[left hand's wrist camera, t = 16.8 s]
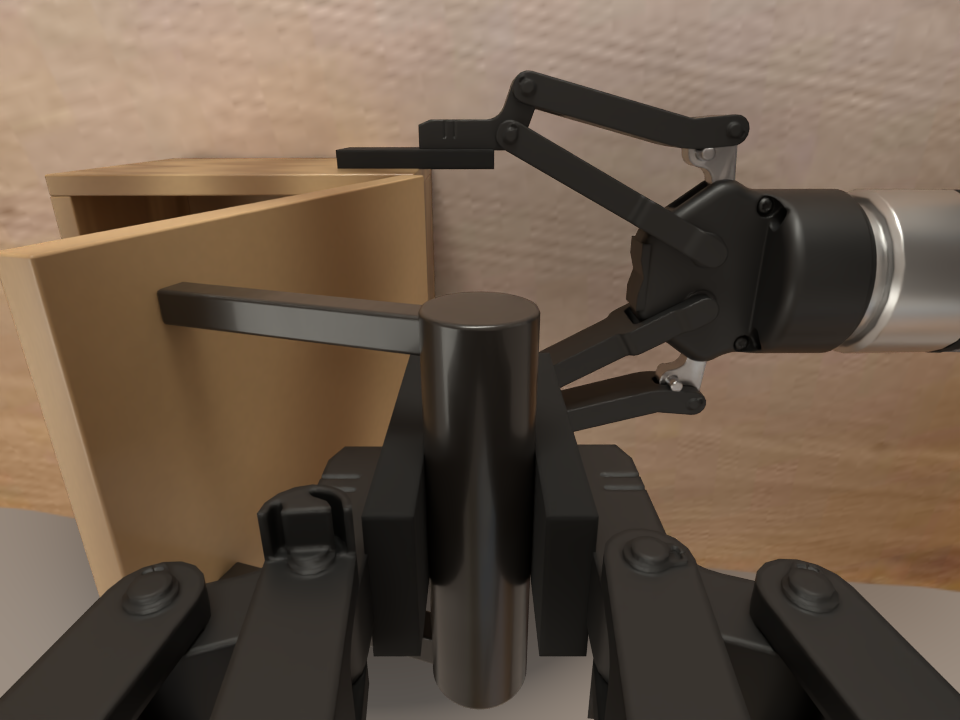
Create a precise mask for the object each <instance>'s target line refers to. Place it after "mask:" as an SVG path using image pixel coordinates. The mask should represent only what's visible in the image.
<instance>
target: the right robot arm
mask: <svg viewBox="0 0 960 720" xmlns="http://www.w3.org/2000/svg"><path fill="white" fill-rule="evenodd" d="M535 109H537V110H540V111H544V112H547V113H551V114H554V115H558V116H561V117H565V118H568V119H572V120H575V121H578V122H582V123H585V124H589V125H592V126H596V127H599V128H603V129H606V130H610V131H613V132H617V133H620V134H624V135H627V136H631V137H634V138H637V139H641V140H644V141H648V142H651V143H655V144H659V145H664V146H670V147H677V148H682V158H683V160H684V161H685V163H687V164H688V165H691V166H696V167H699V168H700V169H701V170H702V171H703V173H704V175H705V181H703V182H701V183H700V184H698V185H697V186H695V187H694V188H692V189H691V190H690V191H688V192H687V193H685V194H684V195H682V196H681V197H679V198H678V199H676V200H675V201H674V202H672V203H671V204H669V205H668V206H666V207H665V208H664V207H662V206H660V205H659V204H657V203H655V202H654V201H652V200H650V199H648V198H646V197H645V196H643V195H641V194H639V193H638V192H636V191H634V190H633V189H631V188H629V187H628V186H626V185H624V184H622V183H621V182H619V181H617V180H616V179H614V178H612V177H611V176H609V175H607V174H606V173H604V172H602V171H600V170H599V169H597V168H595V167H594V166H592V165H590V164H589V163H587V162H585V161H584V160H582V159H580V158H578V157H577V156H575V155H573V154H572V153H570V152H568V151H567V150H565V149H563V148H562V147H560V146H558V145H557V144H555V143H553V142H551V141H550V140H548V139H546V138H545V137H543V136H541V135H540V134H538V133H536V132H535V131H533V130H531V129H529V128H528V126H529V124H530V121H531V118H532V115H533V113H534V110H535ZM748 133H749V122H748V121H747V119H746V118H745V117H743V116H742V115H710V116H700V117H687V116H683V115H680V114H677V113H673V112H670V111H666V110H663V109H660V108H656V107H653V106H649V105H646V104H643V103H639V102H636V101H632V100H629V99H626V98H622V97H619V96H615V95H612V94H609V93H605V92H602V91H598V90H595V89H592V88H588V87H585V86H581V85H578V84H575V83H571V82H568V81H565V80H561V79H558V78H554V77H551V76H548V75H544V74H541V73H537V72H534V71H524V72H521V73H520V74H519V75H518V76H517V77H516V78H515V79H514V80H513V81H512V84H511V86H510V89H509V92H508V95H507V98H506V101H505V104H504V107H503V109H502V111H501V112H500V113H499V114H498V115H497V116H496V117H494V118H492V119H487V120H428V121H426V122H424V123H422V124H419V147H349V148H344V149H339V150H336V157H337V168H338V169H494V150H506V151H507V152H509V153H511V154H513V155H514V156H516V157H518V158H519V159H521V160H523V161H525V162H526V163H528V164H530V165H532V166H533V167H535V168H537V169H538V170H540V171H542V172H544V173H545V174H547V175H549V176H551V177H552V178H554V179H556V180H557V181H559V182H561V183H563V184H564V185H566V186H568V187H570V188H571V189H573V190H575V191H576V192H578V193H580V194H582V195H583V196H585V197H587V198H589V199H590V200H592V201H594V202H596V203H597V204H599V205H601V206H602V207H604V208H606V209H608V210H609V211H611V212H613V213H615V214H616V215H618V216H620V217H621V218H623V219H625V220H627V221H628V222H630V223H632V224H633V225H635V226H637V227H638V228H639V230H638V231H637V233H636V236H632V240H631V251H630V252H631V258H632V264H633V270H632V273H631V276H630V278H629V281H628V284H627V294H626V300H627V301H628V302H629V303H628V304H626V305H624V306H622V307H620V308H618V309H616V310H614V311H613V312H611V313H610V314H609V316H608V317H607V318H606V319H604V320H602V321H600V322H598V323H596V324H594V325H592V326H590V327H588V328H586V329H584V330H582V331H580V332H578V333H576V334H574V335H572V336H570V337H568V338H566V339H564V340H562V341H560V342H558V343H556V344H554V345H552V346H550V347H548V348H546V349H544V350H542V351H540V352H539V353H550V356H551V360H552V363H553V366H554V370H555V373H556V376H557V379H558V383H559V386H560V388H561V387H563V386H565V385H567V384H569V383H571V382H573V381H575V380H577V379H579V378H581V377H584V376H586V375H588V374H590V373H592V372H594V371H596V370H598V369H600V368H602V367H604V366H606V365H608V364H610V363H612V362H614V361H616V360H619V359H621V358H623V357H625V356H628V355H633V356H635V355H639V354H642V353H644V352H646V351H648V350H650V349H652V348H654V347H656V346H658V345H660V344H662V343H664V342H667V343H668V344H669V345H671V346H672V347H673V348H675V349H676V350H678V351H679V352H680V353H681V354H680V356H679V358H678V359H676V360H675V361H673V362H670V363H662V364H660V365H659V366H658V368H657V370H656V371H645V372H637V373H632V374H628V375H624V376H619V377H615V378H611V379H607V380H603V381H599V382H594V383H590V384H586V385H582V386H578V387H574V388H570V389H565V390H561V393H562V396H563V399H564V403H565V406H566V409H567V413H568V416H569V419H570V423H571V426H572V429H573V432H575V431H579V430H583V429H588V428H592V427H596V426H600V425H605V424H609V423H613V422H618V421H622V420H626V419H630V418H635V417H639V416H643V415H648V414H652V413H656V412H662V413H675V414H687V415H694V414H698V413H700V412H701V411H702V410H703V409H704V408H705V405H706V400H705V397H704V396H703V395H702V393H701V392H700V386H701V382H702V378H703V374H704V370H705V366H706V362H707V361H709V360H712V359H714V358H716V357H718V356H721V355H723V354H726V353H730V352H748V353H823V352H828V351H831V350H834V351H837V352H841V353H889V352H938V353H940V352H960V190H903V189H855V190H852V191H849V192H844V191H841V190H838V189H749V188H747V187H745V186H744V185H742V184H741V183H739V182H737V181H735V171H736V156H737V145H739V144H740V143H742V142H743V141H744V140H745V139H746V137H747V136H748Z"/></svg>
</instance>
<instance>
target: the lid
mask: <svg viewBox="0 0 960 720" xmlns="http://www.w3.org/2000/svg"><path fill="white" fill-rule="evenodd" d="M0 280H1V283H2V286H3V289H4V292H5V296H6V299H7V302H8V305H9V308H10V312H11V315H12V318H13V321H14V324H15V328H16V331H17V334H18V337H19V340H20V344H21V347H22V350H23V353H24V356H25V359H26V363H27V366H28V369H29V372H30V375H31V379H32V382H33V385H34V388H35V391H36V395H37V398H38V401H39V404H40V407H41V411H42V414H43V417H44V420H45V423H46V427H47V430H48V433H49V436H50V439H51V443H52V446H53V449H54V452H55V455H56V459H57V462H58V465H59V468H60V471H61V475H62V478H63V481H64V484H65V487H66V491H67V494H68V497H69V500H70V503H71V507H72V510H73V513H74V516H75V519H76V523H77V526H78V529H79V532H80V535H81V539H82V542H83V545H84V548H85V551H86V554H87V558H88V561H89V564H90V567H91V570H92V574H93V577H94V580H95V583H96V586H97V590H98V593H99V596H100V597H101V596H102V595H103V594H104V593H105V592H106V591H107V590H108V589H109V588H110V587H112V586H113V585H114V584H116V583H117V582H118V581H119V580H121V579H122V578H123V577H125V576H127V575H129V574H131V573H133V572H135V571H137V570H139V569H141V568H143V567H146V566H150V565H154V564H158V563H161V562H176V561H182V562H186V563H189V564H193V565H196V566H197V567H198V568H199V570H200V571H201V572H202V573H203V574H204V578H205V582H206V583H209V582H214V581H218V580H223V579H227V578H231V577H236V576H240V575H243V574H246V573H250V572H253V571H255V570H257V569H260V568H262V567H263V564H264V561H265V559H264V553H263V547H262V541H261V535H260V530H259V524H258V518H257V513H258V511H259V510H260V508H261V507H262V506H263V504H264V503H265V502H266V501H268V500H269V499H271V498H272V497H274V496H275V495H277V494H278V493H281V492H283V491H286V490H289V489H291V488H294V487H299V486H305V485H311V484H315V485H318V482H319V480H320V479H321V478H322V473H323V471H324V469H325V467H326V464H327V462H328V460H329V459H330V458H331V457H333V456H334V455H335V454H336V453H338V452H339V451H340V450H341V449H342V448H344V447H345V446H383V443H384V439H385V436H386V433H387V429H388V426H389V423H390V419H391V416H392V413H393V410H394V406H395V403H396V400H397V396H398V393H399V390H400V386H401V383H402V380H403V376H404V373H405V370H406V367H407V363H408V360H409V357H410V355H416V356H420V366H421V390H422V414H423V438H424V457H425V481H426V505H427V529H428V553H429V580H430V604H431V612H429V611H426V612H425V621H424V630H423V639H422V648H421V656H407V657H410V658H414V659H417V660H421V661H424V662H428V663H431V664H433V672H434V678H435V681H436V683H437V685H438V687H439V689H440V690H441V691H442V692H443V694H444V695H445V696H446V697H447V698H448V699H450V700H451V701H453V702H454V703H456V704H458V705H460V706H463V707H466V708H470V709H490V708H493V707H497V706H499V705H502V704H504V703H505V702H507V701H508V700H510V699H511V698H512V697H513V696H514V695H515V694H516V693H517V692H518V691H519V689H520V688H521V686H522V684H523V682H524V679H525V676H526V664H527V639H528V613H529V588H530V562H531V536H532V511H533V485H534V460H535V434H536V408H537V383H538V357H539V331H540V310H539V308H538V306H537V305H536V304H535V303H534V302H532V301H530V300H528V299H525V298H522V297H519V296H515V295H510V294H505V293H496V292H463V293H454V294H448V295H444V296H440V297H437V298H434V299H431V300H429V301H428V286H427V257H426V229H425V201H424V176H423V175H400V176H395V177H389V178H384V179H379V180H373V181H368V182H363V183H357V184H352V185H347V186H341V187H336V188H331V189H326V190H320V191H315V192H310V193H304V194H299V195H294V196H288V197H283V198H278V199H272V200H267V201H262V202H257V203H251V204H246V205H241V206H235V207H230V208H225V209H219V210H214V211H209V212H204V213H198V214H193V215H188V216H182V217H177V218H172V219H166V220H161V221H156V222H150V223H145V224H140V225H135V226H129V227H124V228H119V229H113V230H108V231H103V232H97V233H92V234H87V235H81V236H76V237H71V238H66V239H60V240H55V241H50V242H44V243H39V244H34V245H28V246H23V247H18V248H12V249H7V250H2V251H0ZM370 646H372V647H373V642H372V638H371V642H370Z"/></svg>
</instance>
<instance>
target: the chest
mask: <svg viewBox="0 0 960 720" xmlns="http://www.w3.org/2000/svg"><path fill="white" fill-rule="evenodd" d="M400 175H423V176H424V201H425V229H426V257H427V286H428V301H429V300H431V299H434V298H435V280H434V248H433V215H432V182H431V169H338V168H337V158H173V159H166V160H158V161H150V162H142V163H134V164H126V165H118V166H110V167H102V168H95V169H87V170H79V171H71V172H63V173H55V174H47V175H45V178H46V182H47V186H48V190H49V194H50V196H51V197H50V198H51V202H52V205H53V209H54V213H55V217H56V221H57V224H58V228H59V232H60V236H61V239H66V238H71V237H76V236H81V235H87V234H92V233H97V232H103V231H108V230H113V229H119V228H124V227H129V226H135V225H140V224H145V223H150V222H156V221H161V220H166V219H172V218H177V217H182V216H188V215H193V214H198V213H204V212H209V211H214V210H219V209H225V208H230V207H235V206H241V205H246V204H251V203H257V202H262V201H267V200H272V199H278V198H283V197H288V196H294V195H299V194H304V193H310V192H315V191H320V190H326V189H331V188H336V187H341V186H347V185H352V184H357V183H363V182H368V181H373V180H379V179H384V178H389V177H395V176H400Z"/></svg>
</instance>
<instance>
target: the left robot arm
mask: <svg viewBox="0 0 960 720" xmlns="http://www.w3.org/2000/svg"><path fill="white" fill-rule="evenodd" d="M257 518H258V524H259V530H260V535H261V541H262V547H263V553H264V559H265V561H264V564H263V567H262V568H260V569H257V570H255V571H253V572H250V573H246V574H243V575H240V576H236V577H231V578H227V579H223V580H218V581H214V582H209V583H206V582H205V578H204V574H203V573H202V572H201V571H200V570H199V568H198V567H197V566H196V565H193V564H189V563H186V562H182V561H176V562H161V563H158V564H154V565H150V566H146V567H143V568H141V569H139V570H137V571H135V572H133V573H131V574H129V575H127V576H125V577H123V578H122V579H121V580H119V581H118V582H117V583H116V584H114V585H113V586H112V587H110V588H109V589H108V590H107V591H106V592H105V593H104V594H103V595H102V596H101V597H100V598H99V599H98V600H97V601H96V602H95V603H94V604H93V605H92V606H91V607H90V608H89V609H88V610H87V611H86V612H85V613H84V614H83V615H82V616H81V617H80V618H79V619H78V620H77V621H76V622H75V623H74V624H73V625H72V626H71V627H70V628H69V629H68V630H67V631H66V632H65V633H64V634H63V635H62V636H61V637H60V638H59V639H58V640H57V641H56V642H55V643H54V644H53V645H52V646H51V647H50V648H49V649H48V650H47V651H46V652H45V653H44V654H43V655H42V656H41V657H40V658H39V660H37V661H36V663H35V664H34V665H33V666H32V667H31V668H30V669H29V670H28V671H27V672H26V673H25V674H24V675H23V676H22V677H21V678H20V679H19V680H18V681H17V682H16V683H15V684H14V685H13V686H12V687H11V688H10V689H9V690H8V691H7V692H6V693H5V694H4V695H3V696H2V697H1V698H0V720H366V713H367V701H368V689H369V678H368V668H367V656H368V652H369V647H370V642H371V638H372V642H373V653H374V656H421V648H422V639H423V630H424V621H425V612H426V603H427V594H428V585H429V553H428V529H427V505H426V481H425V457H424V438H423V414H422V390H421V366H420V356H416V355H410V357H409V360H408V363H407V367H406V370H405V373H404V376H403V380H402V383H401V386H400V390H399V393H398V396H397V400H396V403H395V406H394V410H393V413H392V416H391V419H390V423H389V426H388V429H387V433H386V436H385V439H384V443H383V446H345V447H344V448H342V449H341V450H340V451H339V452H338V453H336V454H335V455H334V456H333V457H331V458H330V459H329V460H328V462H327V464H326V467H325V469H324V471H323V473H322V478H321V479H320V480H319V482H318V485H315V484H311V485H305V486H299V487H294V488H291V489H289V490H286V491H283V492H281V493H278V494H277V495H275V496H274V497H272V498H271V499H269V500H268V501H266V502H265V503H264V504H263V506H262V507H261V508H260V510H259V511H258V513H257ZM530 576H531V585H532V594H533V602H534V612H535V621H536V629H537V639H538V647H539V656H586V653H587V642H588V634H589V639H590V644H591V649H592V653H593V668H592V679H591V689H590V699H589V710H588V718H591V719H594V720H960V694H959V693H958V692H957V691H956V690H955V689H954V688H953V687H952V686H951V685H950V684H949V683H948V682H947V681H946V680H945V679H944V678H943V677H942V676H941V675H940V674H939V673H938V672H937V671H936V670H935V669H934V668H933V667H932V666H931V665H930V664H929V663H928V662H927V661H926V660H925V659H924V658H923V657H922V656H921V655H920V654H919V653H918V652H917V651H916V650H915V649H914V648H913V647H912V646H911V645H910V644H909V643H908V642H907V641H906V640H905V639H904V638H903V637H902V636H901V635H900V634H899V633H898V632H897V631H896V630H895V629H894V628H893V627H892V626H891V625H890V624H889V623H888V622H887V621H886V620H885V619H884V618H883V617H882V616H881V615H880V614H879V613H878V612H877V611H876V610H875V609H874V608H873V607H872V606H871V605H870V604H869V603H868V602H867V601H866V600H865V599H864V598H863V597H862V596H861V595H860V594H859V593H858V592H857V591H856V590H855V589H854V588H853V587H852V586H851V585H850V584H849V583H847V582H846V581H845V580H843V579H842V578H841V577H840V576H838V575H837V574H835V573H833V572H831V571H829V570H827V569H825V568H823V567H821V566H819V565H816V564H812V563H808V562H805V561H801V560H796V559H777V560H774V561H770V562H767V563H765V564H764V565H763V566H762V567H761V568H760V569H759V570H758V571H757V574H756V578H755V581H752V580H748V579H744V578H739V577H735V576H730V575H726V574H722V573H718V572H715V571H712V570H708V569H706V568H703V567H701V566H699V565H697V563H696V560H695V559H694V557H693V555H692V554H691V552H690V551H689V549H688V548H687V547H686V546H685V545H683V544H682V543H681V542H679V541H678V540H677V539H675V538H673V537H671V536H669V535H666V533H665V530H664V528H663V526H662V524H661V522H660V519H659V517H658V515H657V513H656V511H655V508H654V506H653V504H652V502H651V500H650V497H649V495H648V493H647V491H646V490H645V486H644V484H643V482H642V480H641V477H639V473H638V471H637V469H636V466H635V464H634V462H633V460H632V458H631V457H630V456H629V455H627V454H626V453H625V452H624V451H623V450H621V449H620V448H619V447H618V446H616V445H577V442H576V439H575V436H574V432H573V429H572V426H571V423H570V419H569V416H568V413H567V409H566V406H565V403H564V399H563V396H562V393H561V389H560V386H559V383H558V379H557V376H556V373H555V370H554V366H553V363H552V360H551V356H550V353H539V357H538V383H537V408H536V434H535V460H534V485H533V511H532V536H531V562H530Z"/></svg>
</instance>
